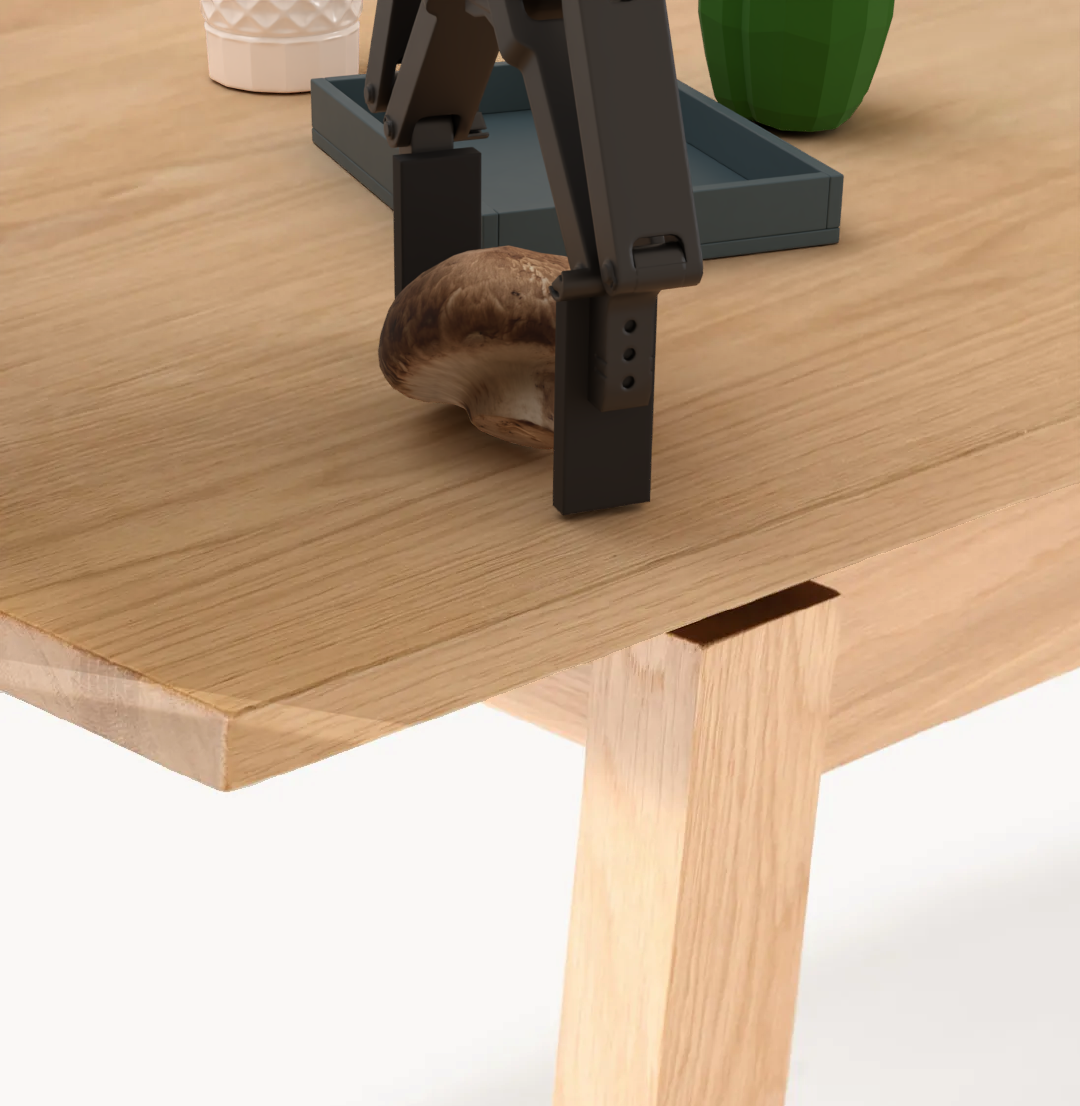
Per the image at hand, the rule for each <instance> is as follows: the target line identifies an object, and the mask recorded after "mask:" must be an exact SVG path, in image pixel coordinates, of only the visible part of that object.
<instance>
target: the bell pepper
mask: <svg viewBox="0 0 1080 1106" xmlns="http://www.w3.org/2000/svg"><path fill="white" fill-rule="evenodd" d="M697 2H698V3H697V5H698V6H697V14H698V22H699V27H700V33H701V39H702V45H703V46H702V47H703V51H704V56H705V61H706V65H707V66H706V67H707V70H708V75H709V79H710V84H711V89H712V92H713V96H714V98H715V101H716V102H718V103H720V104H721V105H723V106H725V107H727V108H728V109H730V110H732V111H734V112H735V113H737V114H739V115H741V116H742V117H744V118H746V119H747V120H749V121H751V122H754V123H759V124H762V125H765V126H767V127H770V128H773V129H775V130H779V131H789V132H807V133H814V132H822V131H830V130H831V131H832V130H836V129H838V128H839V127H840V126H841V125H843V124H844V123H846V122H847V121H848V120H849V119H850V118H852V116H853V115H854V113H855V112H856V110H857V109H858V108H859V107H860V106H861V104H862V103H863V100H864V98H865V96H866V95H867V93H868V92H869V91H870V87H871V85H872V84H871V83H872V82H873V79H874V76H875V73H876V71H877V68H878V65H879V63H880V60H881V57H882V55H883V54H882V53H883V50H884V47H885V44H886V40H887V36H888V34H889V32H890V31H889V30H890V28H891V24H892V21H893V17H894V12H895V0H697Z"/></svg>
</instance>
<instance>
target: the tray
mask: <svg viewBox="0 0 1080 1106" xmlns="http://www.w3.org/2000/svg"><path fill="white" fill-rule="evenodd" d="M395 72H399V70H396V71H395ZM365 79H366V73H359V74H358V75H347V76H336V77H325V78H315V79H311V80H310V83H311V91H310V116H311V117H310V118H311V141H312V142H313V143H314V144H315V145H316V146H317V147H319V148H320V149H321V150H322V151H323V152H324V153H325V154H327V155H328V156H329V157H330V158H331V159H333V160H334V161H335V162H336V163H337V164H339V166H340V167H342V168H343V169H344V170H345V171H346V172H348V173H349V174H350V175H351V176H352V177H354V178H355V179H356V180H357V181H359V182H360V183H361V184H362V185H363V186H364V187H366V188H367V189H368V190H369V191H370V192H371V193H372V194H373V195H375V196H376V197H377V198H378V199H380V200H381V201H382V202H383V203H384V204H385V205H386V206H388V207H389V208H390V209H391V210H393V155H398V154H399V147H398V148H391V147H390V146H389V144H388V142H387V139H386V136H385V134H384V122H383V120H384V116H385V113H386V112H379V113H372V112H370V110H369V109H368V106H367V104H366V102H365V98H364V88H365ZM677 83H678V90H679V97H680V104H681V111H682V118H683V125H684V132H685V139H686V146H687V153H688V160H689V167H690V174H691V181H692V188H693V195H694V202H695V209H696V216H697V223H698V230H699V237H700V244H701V251H702V258H703V260H708V259H709V260H710V259H717V258H725V257H733V256H741V255H743V256H744V255H750V254H759V253H767V252H775V251H785V250H791V249H799V248H807V247H816V246H823V245H824V246H825V245H832V244H838V243H839V242H840V235H841V234H840V233H841V229H840V227H841V221H842V220H841V219H842V208H843V207H842V205H843V194H844V182H845V181H844V180H845V176H844V175H845V174H843V173H842V172H840V171H838V170H836V169H835V168H833V167H831V166H829V165H827V164H826V163H824V162H822V161H821V160H819V159H817V158H816V157H813V156H812V155H810V154H808V153H806V152H805V151H803V150H801V149H800V148H798V147H796V146H794V145H793V144H791V143H789V142H787V141H786V140H784V139H782V138H781V137H779V136H777V135H776V134H774V133H772V132H770V131H768V130H767V129H765V128H763V127H762V126H759V125H758V124H756V123H755V122H754V121H749V120H747V119H746V118H744V117H742V116H741V115H739V114H737V113H735V112H734V111H732V110H730V109H728V108H727V107H725V106H723V105H721V104H720V103H718V102H717V100H715V99H713V98H711V97H709V96H708V95H706V94H704V93H703V92H701V91H699V90H697V89H695V88H694V87H692V86H691V85H689V84H687V83H685V82H683V81H682V80H680V79H678V78H677ZM479 112H482V115H483V118H484V121H485V124H486V127H487V129H485V130H481V131H482V133H485V132H488V133H489V136H488V138H485V139H476V140H466V141H457V142H454V149H456V148H466V147H474V148H475V149H477V150H478V151H479V152H481V249H486V248H494V247H502V246H513V247H517V248H522V249H526V250H530V251H535V252H539V253H544V254H552V255H560V256H565V257H567V254H566V250H565V246H564V241H563V237H562V233H561V229H560V225H559V221H558V217H557V213H556V209H555V205H554V201H553V197H552V193H551V188H550V184H549V180H548V176H547V172H546V168H545V164H544V160H543V156H542V152H541V148H540V144H539V140H538V135H537V131H536V127H535V123H534V119H533V115H532V111H531V107H530V103H529V99H528V95H527V91H526V87H525V82H524V78H523V75H522V73H521V71H520V70H519V69H517V68H516V67H514V66H512V65H510V64H508V63H507V62H506V61H505V60H503V61H495V64H494V67H493V69H492V72H491V75H490V78H489V80H488V83H487V86H486V88H485V91H484V94H483V96H482V99H481V102H480V105H479ZM632 247H633V246H632Z"/></svg>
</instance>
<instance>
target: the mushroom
mask: <svg viewBox="0 0 1080 1106" xmlns="http://www.w3.org/2000/svg"><path fill="white" fill-rule="evenodd" d="M567 270H570V266H569V262H568V258H567V257H565V256H560V255H552V254H544V253H539V252H535V251H530V250H526V249H522V248H517V247H513V246H502V247H494V248H486V249H478V250H471V251H466V252H463V253H460V254H457V255H454V256H452V257H450V258H448V259H447V260H445V261H443V262H441V263H439V264H438V265H436V266H434V267H432V268H430V269H429V270H427V271H425V272H423V273H422V274H421V275H419V276H418V277H417V278H416V279H415V280H413V281H412V282H411V283H410V284H408V285H407V286H406V287H405V288H404V289H403V290H402V291H401V292H400V293H399V294H398V296H397V297H396V298H395V297H394V300H393V302H392V303H391V305H390V306H389V308H388V310H387V312H386V316H385V318H384V321H383V324H382V328H381V330H380V333H379V341H378V346H377V347H378V348H377V355H378V364H379V365H378V366H379V368H380V371H381V373H382V375H383V377H384V379H385V380H386V381H387V382H388V384H389V385H390V386H391V388H392V389H393V390H395V391H396V392H398V393H400V394H402V395H404V396H405V397H407V398H409V399H412V400H415V401H419V402H423V403H430V404H445V405H454V406H457V407H459V408H462V409H464V410H465V412H466V414H467V416H468V418H469V421H470V422H471V424H472V425H473V426H474V427H475V428H477V430H479V431H480V432H482V433H485V434H487V435H489V436H491V437H494V438H497V439H499V440H501V441H505V442H507V443H511V444H514V445H518V446H522V447H527V448H530V449H531V448H532V449H537V450H553V451H554V391H555V332H556V301H555V300H554V299H553V298H552V296H551V294H550V291H549V288H548V287H549V286H552V284H551V283H552V282H553V281H554V280H555V279H556V278H557V277H558V276H559V275H561V272H562V271H567Z"/></svg>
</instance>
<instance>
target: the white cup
mask: <svg viewBox="0 0 1080 1106" xmlns="http://www.w3.org/2000/svg"><path fill="white" fill-rule="evenodd" d="M363 10H364V0H199V13H200V15H201V17H202V18H203V20H204V22H203V29H204V31H205V41H206V53H207V66H208V75H209V78H210V79H211V80H213V81H214V82H217V83H218V84H221V86H222V85H223V86H225V87H228V88H232V89H237V90H242V91H243V90H244V91H248V92H256V93H277V94H278V93H279V94H290V93H300V92H301V93H304V92H311V83H310V80H311V79H315V78H325V77H336V76H347V75H358V74H360V37H361V36H360V34H361V33H360V32H361V31H360V28H361V22H360V18H361V16H362V13H363Z"/></svg>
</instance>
